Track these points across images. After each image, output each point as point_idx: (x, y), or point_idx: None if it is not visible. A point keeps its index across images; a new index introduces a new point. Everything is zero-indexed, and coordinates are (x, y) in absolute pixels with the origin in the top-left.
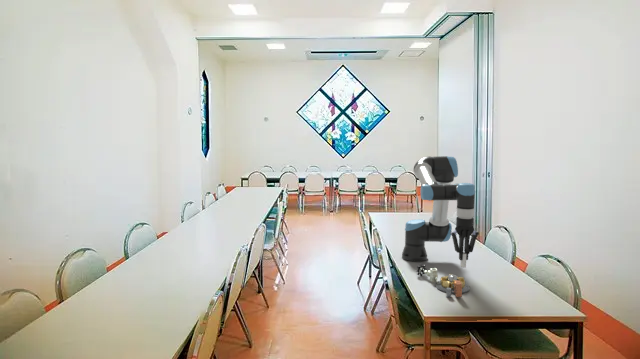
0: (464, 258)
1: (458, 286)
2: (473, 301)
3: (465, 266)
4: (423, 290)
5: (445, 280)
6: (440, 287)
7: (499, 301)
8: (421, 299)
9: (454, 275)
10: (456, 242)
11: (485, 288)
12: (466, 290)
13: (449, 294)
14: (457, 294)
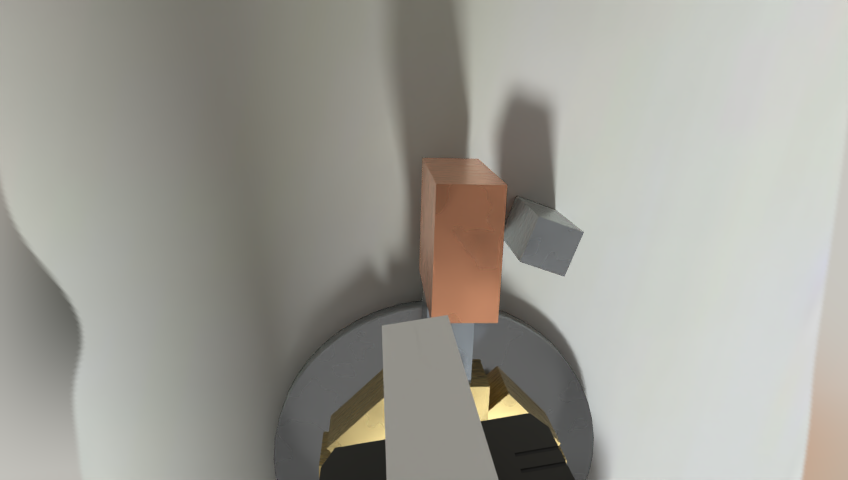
0: (438, 430)
1: (478, 178)
2: (306, 117)
3: (392, 332)
4: (723, 354)
5: None
6: (566, 400)
7: (25, 134)
8: (811, 135)
9: None
10: None
11: (113, 455)
12: (324, 350)
13: (536, 206)
14: (470, 161)
